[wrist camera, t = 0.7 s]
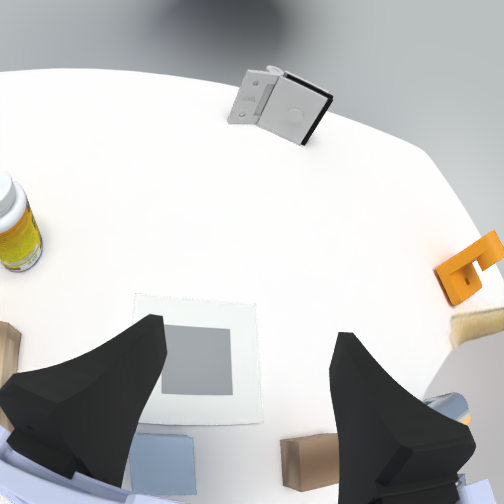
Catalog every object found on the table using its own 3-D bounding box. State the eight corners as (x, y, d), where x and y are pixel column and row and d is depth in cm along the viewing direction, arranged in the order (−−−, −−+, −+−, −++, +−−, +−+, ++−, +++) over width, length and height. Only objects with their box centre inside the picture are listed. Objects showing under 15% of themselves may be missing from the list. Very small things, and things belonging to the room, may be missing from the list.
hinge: (226, 124, 46) (246, 71, 38) (229, 106, 49) (248, 57, 41) (307, 148, 50) (335, 103, 42) (304, 130, 53) (330, 87, 45)
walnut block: (326, 476, 26) (348, 480, 22) (282, 485, 24) (301, 491, 21) (323, 433, 28) (345, 433, 25) (279, 439, 27) (298, 441, 23)
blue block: (189, 484, 22) (196, 494, 19) (133, 483, 20) (132, 493, 17) (185, 434, 24) (192, 437, 21) (130, 432, 23) (128, 435, 19)
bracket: (449, 309, 44) (505, 276, 34) (431, 270, 46) (483, 233, 37) (472, 292, 49) (519, 263, 39) (457, 259, 51) (501, 227, 42)
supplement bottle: (53, 248, 28) (31, 184, 20) (17, 284, 25) (-21, 228, 16) (26, 218, 28) (3, 153, 20) (-8, 250, 25) (-43, 190, 17)
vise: (385, 421, 31) (426, 415, 25) (434, 394, 35) (471, 383, 29) (406, 533, 23) (444, 539, 18) (452, 496, 27) (488, 495, 22)
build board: (259, 422, 27) (263, 422, 26) (130, 421, 23) (129, 422, 22) (252, 307, 33) (255, 303, 32) (135, 296, 29) (135, 292, 28)
